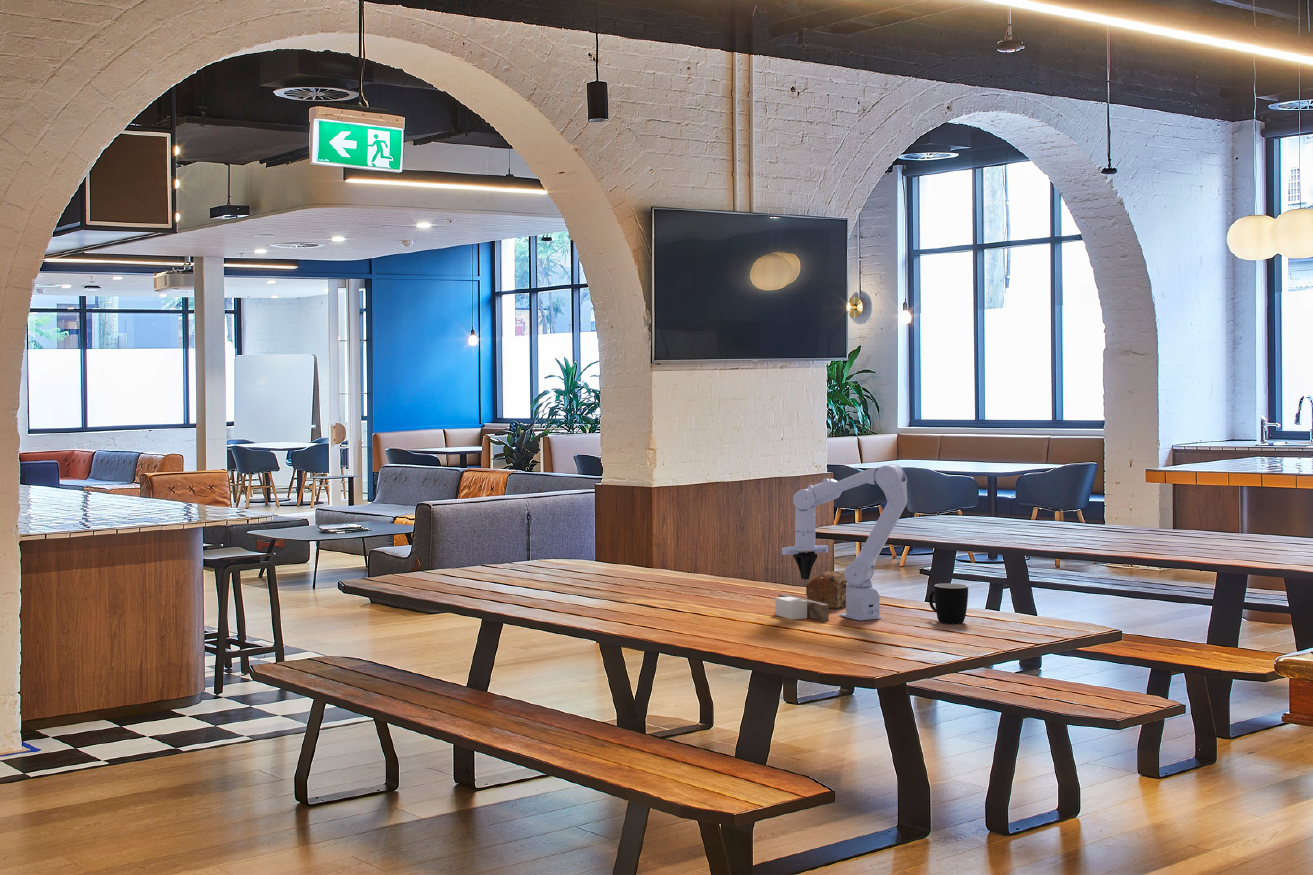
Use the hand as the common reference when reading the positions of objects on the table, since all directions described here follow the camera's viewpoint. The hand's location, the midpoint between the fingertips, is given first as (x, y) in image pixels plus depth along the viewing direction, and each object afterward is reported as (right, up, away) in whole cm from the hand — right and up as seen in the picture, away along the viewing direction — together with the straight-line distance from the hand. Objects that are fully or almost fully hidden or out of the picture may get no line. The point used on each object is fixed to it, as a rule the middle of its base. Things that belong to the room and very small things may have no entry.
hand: (805, 578), depth 364 cm
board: (-1, -10, -2) cm, 10 cm away
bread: (+10, -10, +18) cm, 23 cm away
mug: (+37, -11, -13) cm, 41 cm away
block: (-4, -10, -4) cm, 12 cm away
